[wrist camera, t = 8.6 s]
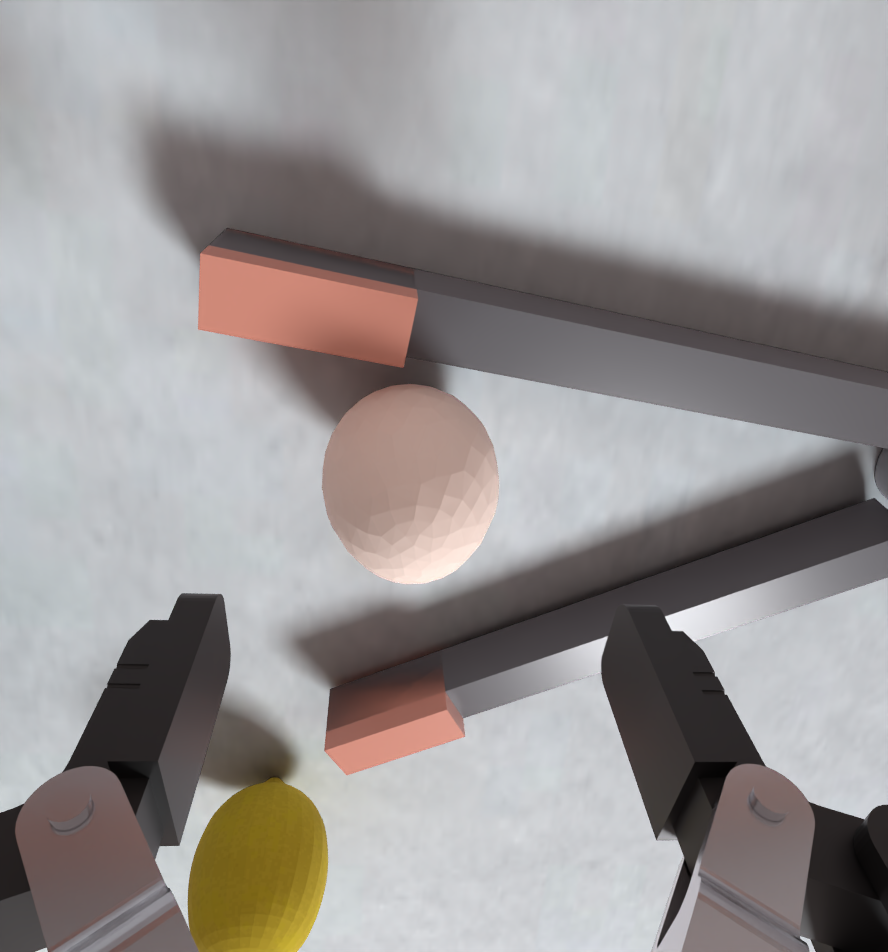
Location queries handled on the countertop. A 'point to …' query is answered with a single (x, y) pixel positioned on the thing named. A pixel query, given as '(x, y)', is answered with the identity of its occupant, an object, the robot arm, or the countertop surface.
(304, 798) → the lemon
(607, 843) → the countertop surface
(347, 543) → the egg
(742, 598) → the tong leg
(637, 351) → the base
